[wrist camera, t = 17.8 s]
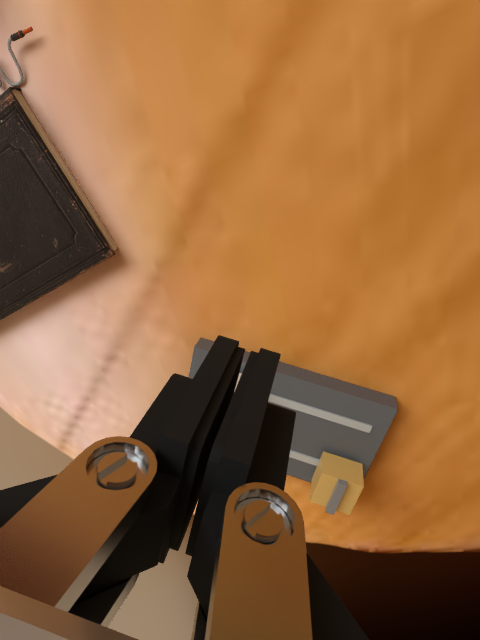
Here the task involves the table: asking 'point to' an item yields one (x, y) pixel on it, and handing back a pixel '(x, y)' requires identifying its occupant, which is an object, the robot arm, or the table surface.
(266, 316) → the table surface
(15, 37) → the headphones
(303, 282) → the table surface
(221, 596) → the robot arm
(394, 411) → the mixer console
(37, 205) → the hardcover book
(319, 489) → the amber fader
